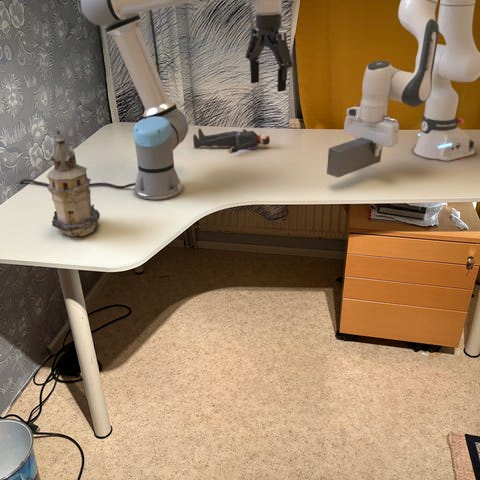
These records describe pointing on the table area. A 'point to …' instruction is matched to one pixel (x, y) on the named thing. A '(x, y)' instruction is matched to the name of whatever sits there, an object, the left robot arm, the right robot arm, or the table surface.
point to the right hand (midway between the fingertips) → (368, 153)
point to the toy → (231, 140)
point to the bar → (351, 157)
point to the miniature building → (70, 193)
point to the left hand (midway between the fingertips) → (267, 86)
